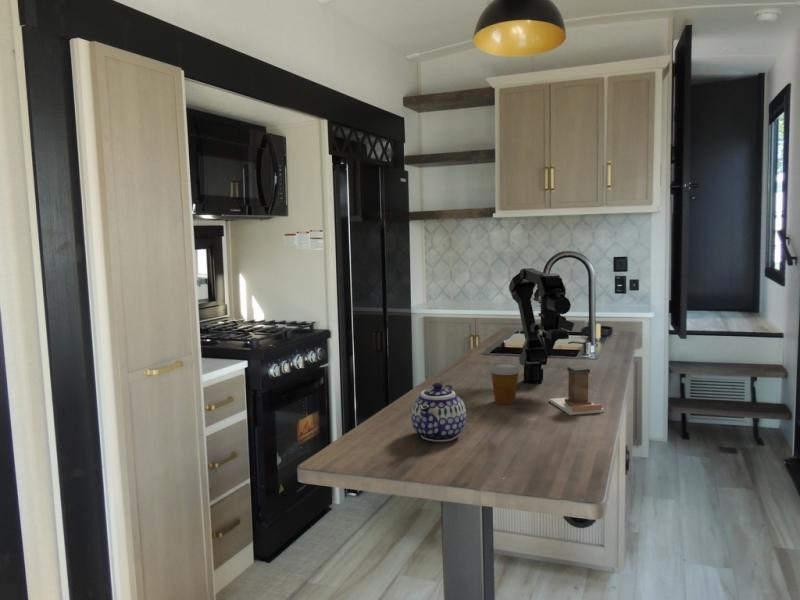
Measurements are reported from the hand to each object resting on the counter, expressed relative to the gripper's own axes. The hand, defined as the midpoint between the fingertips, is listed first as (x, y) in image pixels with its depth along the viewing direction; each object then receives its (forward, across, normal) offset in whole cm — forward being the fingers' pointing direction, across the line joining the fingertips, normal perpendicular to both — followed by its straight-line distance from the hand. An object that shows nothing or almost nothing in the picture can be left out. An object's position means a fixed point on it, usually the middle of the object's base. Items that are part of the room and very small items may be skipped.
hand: (548, 355), depth 228 cm
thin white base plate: (+12, -22, 0) cm, 25 cm away
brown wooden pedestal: (+11, -23, 0) cm, 25 cm away
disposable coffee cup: (+12, -10, +20) cm, 25 cm away
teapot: (+12, -38, +49) cm, 63 cm away
